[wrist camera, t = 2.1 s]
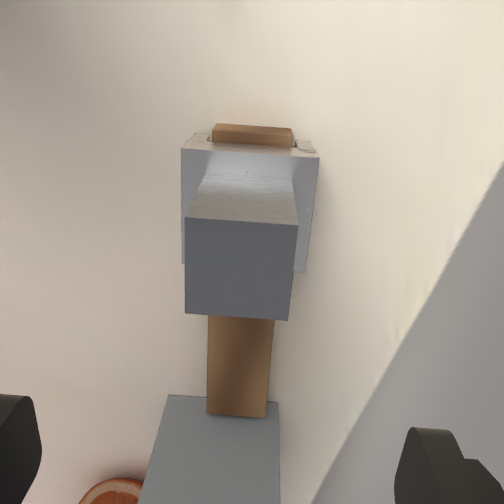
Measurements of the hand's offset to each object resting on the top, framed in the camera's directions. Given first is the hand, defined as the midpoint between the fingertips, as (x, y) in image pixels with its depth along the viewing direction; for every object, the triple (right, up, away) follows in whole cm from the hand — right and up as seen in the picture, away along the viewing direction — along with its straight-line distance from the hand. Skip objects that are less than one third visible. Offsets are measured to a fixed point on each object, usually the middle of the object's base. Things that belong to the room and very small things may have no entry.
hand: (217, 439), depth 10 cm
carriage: (+1, +8, +16) cm, 18 cm away
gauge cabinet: (-1, -9, +24) cm, 26 cm away
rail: (0, +2, +19) cm, 19 cm away
